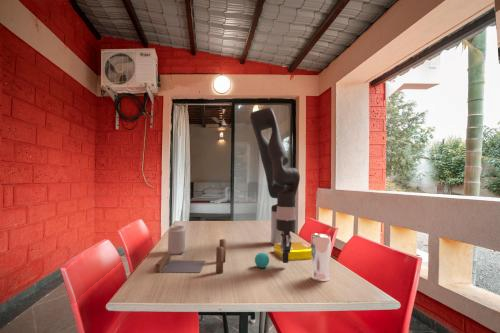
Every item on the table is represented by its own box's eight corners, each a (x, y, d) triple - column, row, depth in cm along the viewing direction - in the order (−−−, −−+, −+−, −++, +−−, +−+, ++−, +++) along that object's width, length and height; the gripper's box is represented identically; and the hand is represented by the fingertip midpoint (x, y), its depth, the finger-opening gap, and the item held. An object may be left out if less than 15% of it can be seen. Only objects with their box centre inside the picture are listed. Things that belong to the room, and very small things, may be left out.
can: (187, 251, 127) (188, 225, 127) (178, 255, 120) (179, 228, 120) (174, 250, 129) (174, 224, 130) (164, 254, 122) (165, 227, 123)
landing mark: (205, 261, 113) (205, 260, 113) (200, 272, 99) (200, 272, 99) (171, 260, 113) (171, 260, 113) (161, 272, 99) (161, 271, 99)
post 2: (223, 271, 101) (223, 246, 102) (222, 273, 99) (223, 248, 99) (216, 271, 101) (216, 246, 101) (215, 273, 98) (216, 248, 99)
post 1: (225, 260, 114) (226, 239, 114) (225, 262, 111) (225, 240, 112) (219, 260, 114) (219, 239, 114) (218, 262, 111) (219, 240, 111)
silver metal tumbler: (319, 283, 91) (320, 238, 92) (306, 276, 97) (306, 234, 98) (335, 280, 94) (335, 236, 95) (321, 273, 101) (321, 232, 101)
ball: (268, 265, 109) (268, 251, 110) (269, 269, 104) (269, 254, 104) (254, 264, 109) (254, 250, 109) (254, 269, 104) (255, 254, 104)
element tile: (316, 259, 120) (316, 248, 120) (284, 261, 116) (284, 250, 116) (301, 250, 134) (301, 240, 134) (272, 252, 130) (272, 242, 131)
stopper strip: (170, 260, 113) (170, 253, 113) (159, 272, 99) (160, 264, 99) (166, 260, 113) (166, 253, 113) (155, 272, 99) (155, 264, 99)
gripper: (274, 215, 114) (273, 257, 113) (278, 220, 101) (277, 267, 100) (292, 215, 114) (291, 257, 113) (298, 220, 101) (298, 268, 100)
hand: (285, 262), depth 107 cm, fingers closed
